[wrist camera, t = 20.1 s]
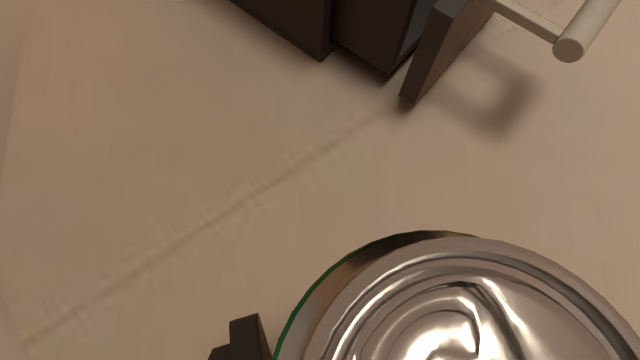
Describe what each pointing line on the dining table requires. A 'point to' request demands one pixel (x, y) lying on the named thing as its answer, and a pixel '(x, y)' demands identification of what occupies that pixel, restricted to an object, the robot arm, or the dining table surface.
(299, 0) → the black box
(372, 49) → the drawer
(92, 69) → the dining table surface
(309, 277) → the dining table surface
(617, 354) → the soda can
